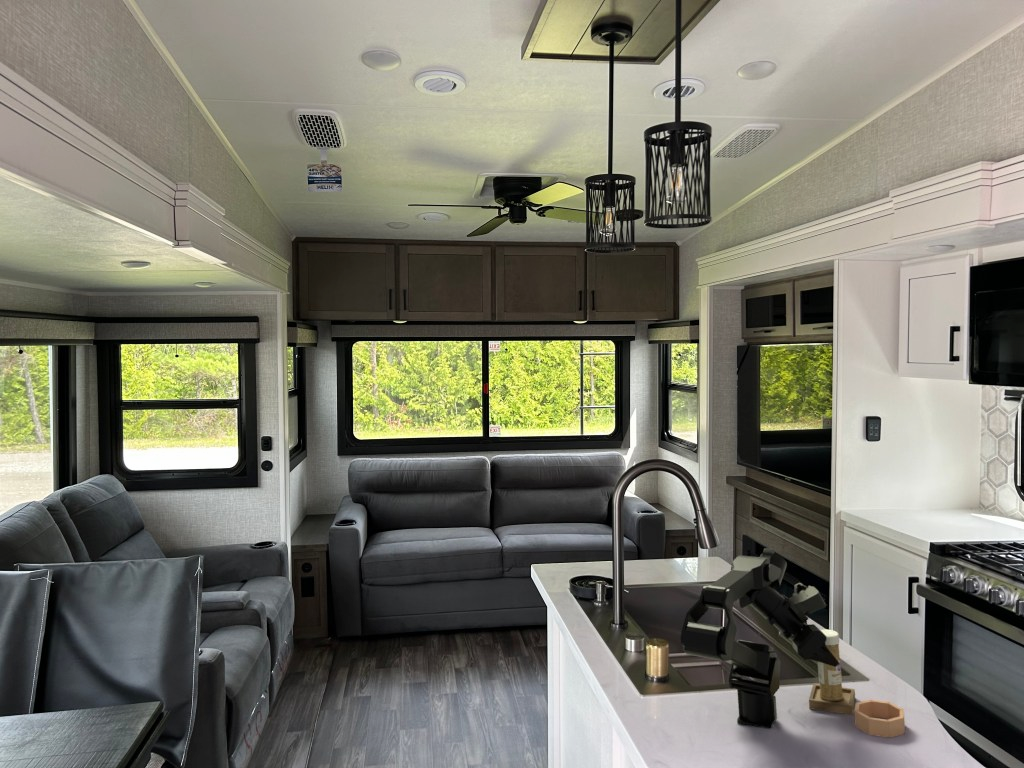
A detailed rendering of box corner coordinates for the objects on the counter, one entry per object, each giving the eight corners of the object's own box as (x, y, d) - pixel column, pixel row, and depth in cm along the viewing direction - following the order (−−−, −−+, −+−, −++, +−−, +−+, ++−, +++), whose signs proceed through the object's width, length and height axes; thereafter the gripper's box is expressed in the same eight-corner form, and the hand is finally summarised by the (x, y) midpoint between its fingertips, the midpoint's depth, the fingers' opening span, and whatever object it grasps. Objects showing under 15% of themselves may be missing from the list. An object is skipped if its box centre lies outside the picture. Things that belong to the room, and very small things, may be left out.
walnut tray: (809, 708, 152) (808, 699, 152) (813, 692, 159) (813, 683, 159) (852, 714, 148) (852, 705, 148) (855, 697, 155) (854, 689, 155)
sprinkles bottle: (842, 703, 150) (837, 637, 150) (817, 700, 153) (813, 634, 152) (844, 694, 154) (839, 629, 154) (821, 691, 157) (816, 627, 156)
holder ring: (854, 732, 141) (853, 716, 141) (857, 712, 149) (856, 697, 149) (904, 739, 137) (903, 723, 137) (904, 719, 145) (903, 704, 145)
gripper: (812, 590, 144) (875, 644, 143) (785, 563, 162) (840, 611, 162) (773, 632, 145) (835, 686, 144) (750, 601, 163) (805, 648, 163)
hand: (829, 655), depth 153 cm, fingers open, 9 cm apart
